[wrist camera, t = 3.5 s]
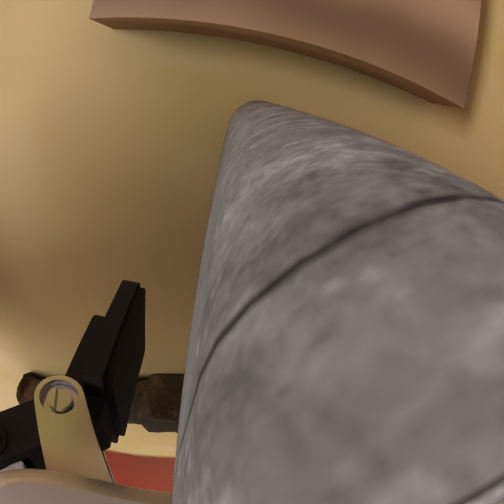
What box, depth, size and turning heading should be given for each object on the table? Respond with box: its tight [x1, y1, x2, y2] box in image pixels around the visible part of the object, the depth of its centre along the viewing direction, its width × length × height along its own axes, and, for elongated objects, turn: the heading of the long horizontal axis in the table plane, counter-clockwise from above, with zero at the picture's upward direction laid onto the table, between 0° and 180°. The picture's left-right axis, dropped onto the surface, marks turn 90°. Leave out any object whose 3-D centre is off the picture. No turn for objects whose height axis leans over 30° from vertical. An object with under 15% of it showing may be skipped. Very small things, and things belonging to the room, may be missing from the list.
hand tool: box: [16, 372, 184, 433], centre depth 22 cm, size 19×4×5 cm, turn 96°
